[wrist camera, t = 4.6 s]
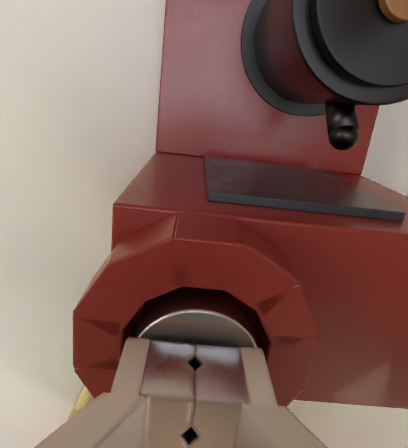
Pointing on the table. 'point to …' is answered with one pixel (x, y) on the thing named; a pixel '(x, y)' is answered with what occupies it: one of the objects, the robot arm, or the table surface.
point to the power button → (197, 318)
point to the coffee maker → (259, 284)
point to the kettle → (335, 56)
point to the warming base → (252, 119)
